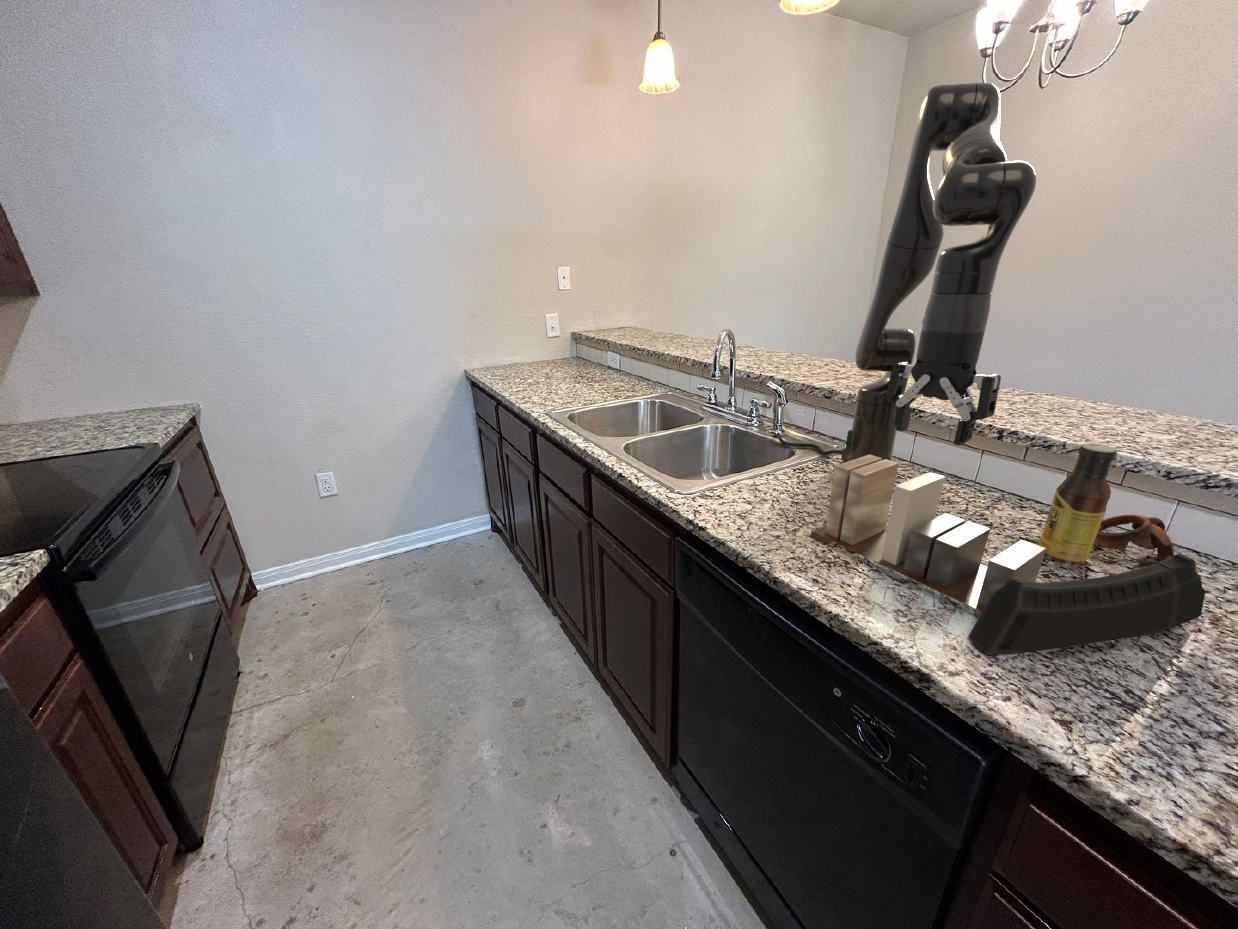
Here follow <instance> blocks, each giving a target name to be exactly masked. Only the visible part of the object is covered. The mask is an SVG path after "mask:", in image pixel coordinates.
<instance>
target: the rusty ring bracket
mask: <svg viewBox="0 0 1238 929" xmlns="http://www.w3.org/2000/svg"><path fill="white" fill-rule="evenodd" d="M1130 524H1131V525H1132V526H1131V528H1132V529H1131V530H1128V531H1122V532H1110V533H1109V532H1103V531H1104V530H1107V529H1109V528H1112V527H1118V526H1122V525H1130ZM1129 542H1131V543H1132V544H1133V545H1135V546H1137V547H1140V548H1143V549H1146V550H1149V551H1151V550H1156V553H1157V554H1156V559H1157V560H1159V561H1166V560H1169V559H1171V558H1172V557H1173V555H1175V552H1174V551H1175V550H1174V546H1173V541H1172V539H1171V538H1170V536H1169V535H1168V534H1167V532H1166V525H1165V523H1164V522H1163V520H1162V519H1160V518H1159V517H1155V516H1153V517H1151V516H1150V517H1149V516H1146V515H1139V514H1121V515H1115V516H1111V517H1106V518H1103V520H1102V522H1101V525H1100V528H1099V530H1098V533H1097V536H1096V538H1095V541H1094V544H1093V546H1092V547H1095V548H1096V547H1097V548H1103V549H1113V550H1118V551H1119V552H1120V553H1122V554H1126V550H1127V547H1128V544H1129Z"/></svg>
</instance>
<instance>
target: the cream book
mask: <svg viewBox="0 0 1238 929" xmlns="http://www.w3.org/2000/svg"><path fill="white" fill-rule="evenodd" d="M945 478H946V476H945V475H941V474H937V473H935V472H931V471H929V472H927V473H924V474H922V475H918V476H917V477H916V476H915V477H914V478H911V479H909V480H906V481H904V482H902V483H900V484H897V485H894V490H893V495H892V500H891V505H890V510H889V516H888V521H887V532H886V537H885V542H884V547H883V552H882V558H881V559H883V560H885V561H887V562H889V563H891V564H894V565H897V564H899V563H901V562H902V561H904V560H905V559H906V554H907V549H908V545H909V540H910V535H911V531H912V529H914V528H916V527H918V526H920V525H922V524H925V523H927V522H929V521H931V520H933V519H935V518H937V512H938V508H939V504H940V500H941V495H942V491H943V487H944V483H945Z"/></svg>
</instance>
